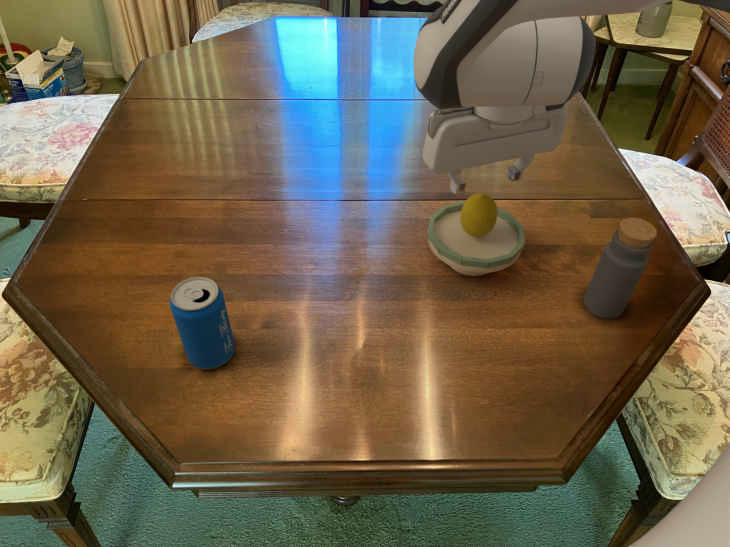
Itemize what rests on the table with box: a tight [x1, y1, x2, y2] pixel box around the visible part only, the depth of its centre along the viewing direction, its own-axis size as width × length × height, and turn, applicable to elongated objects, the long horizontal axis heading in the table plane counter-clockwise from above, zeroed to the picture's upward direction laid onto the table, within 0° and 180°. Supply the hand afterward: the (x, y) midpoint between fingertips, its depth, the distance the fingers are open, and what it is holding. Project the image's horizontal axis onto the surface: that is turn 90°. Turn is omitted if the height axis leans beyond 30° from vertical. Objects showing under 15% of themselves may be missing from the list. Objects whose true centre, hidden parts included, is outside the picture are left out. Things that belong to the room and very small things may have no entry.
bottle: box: [583, 217, 658, 320], centre depth 78 cm, size 6×6×15 cm
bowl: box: [426, 200, 526, 277], centre depth 88 cm, size 15×15×6 cm
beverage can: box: [169, 276, 236, 370], centre depth 72 cm, size 6×6×12 cm
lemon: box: [460, 192, 498, 237], centre depth 84 cm, size 6×6×8 cm
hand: (485, 184), depth 80 cm, fingers open, 8 cm apart
